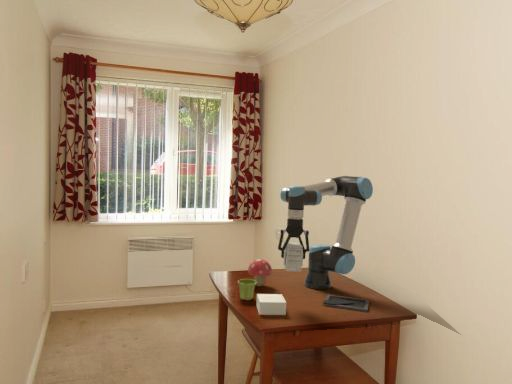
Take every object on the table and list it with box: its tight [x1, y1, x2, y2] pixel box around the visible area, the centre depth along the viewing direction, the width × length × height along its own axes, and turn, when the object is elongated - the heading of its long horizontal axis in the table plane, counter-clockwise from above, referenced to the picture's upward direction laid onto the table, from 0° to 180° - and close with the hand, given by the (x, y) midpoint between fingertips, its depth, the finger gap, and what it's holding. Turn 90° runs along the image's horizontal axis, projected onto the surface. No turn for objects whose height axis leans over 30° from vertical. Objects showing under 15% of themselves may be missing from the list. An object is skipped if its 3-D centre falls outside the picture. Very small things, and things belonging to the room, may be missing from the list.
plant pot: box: [237, 278, 257, 301], centre depth 211 cm, size 9×9×9 cm
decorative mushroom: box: [247, 258, 273, 287], centre depth 232 cm, size 13×13×15 cm
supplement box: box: [283, 241, 303, 272], centre depth 205 cm, size 7×7×13 cm
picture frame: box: [322, 293, 370, 313], centre depth 211 cm, size 16×2×21 cm
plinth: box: [255, 293, 287, 316], centre depth 196 cm, size 12×12×6 cm
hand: (292, 264), depth 205 cm, fingers closed on supplement box, 8 cm apart
